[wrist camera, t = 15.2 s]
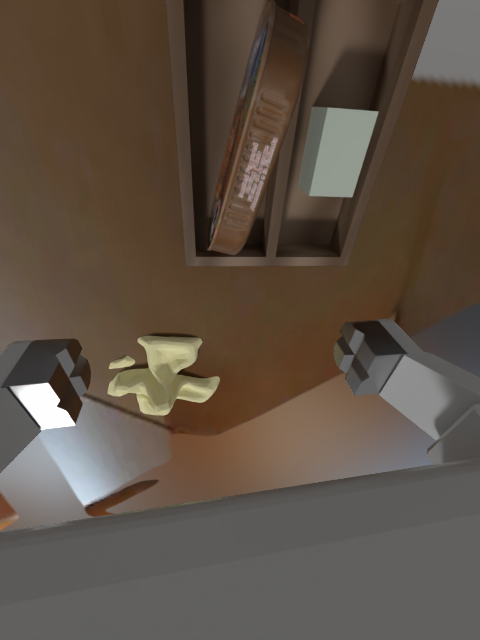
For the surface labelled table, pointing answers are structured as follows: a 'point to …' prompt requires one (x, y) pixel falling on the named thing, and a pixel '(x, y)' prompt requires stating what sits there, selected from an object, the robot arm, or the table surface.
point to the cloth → (163, 375)
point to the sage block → (335, 150)
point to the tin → (258, 126)
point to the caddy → (317, 91)
